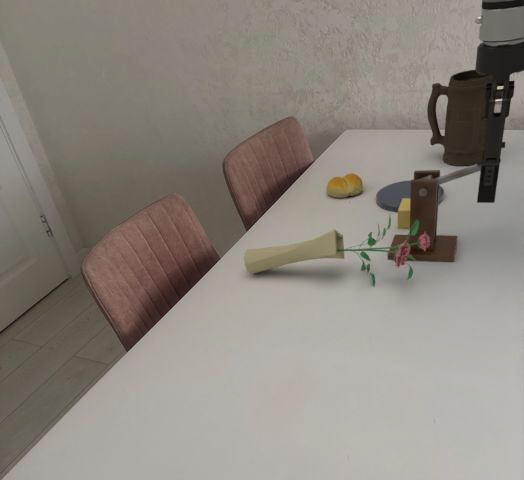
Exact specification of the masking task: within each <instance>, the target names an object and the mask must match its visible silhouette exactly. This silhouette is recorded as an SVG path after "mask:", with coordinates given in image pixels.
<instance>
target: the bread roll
mask: <svg viewBox="0 0 524 480" xmlns="http://www.w3.org/2000/svg"><path fill="white" fill-rule="evenodd" d="M325 190H326V194H327V195H328V196H330V197H333V198H338V199H345V198H348V197H349V196H350V197H354V196H357V195H360V193H362V192H363V191H364V183H363V179H362V178H361V177H360V176H359V175H358V174H355V173H346V175H344V176H333V177H332V178H331V179H330V180H329V181H328V182H327V184H326V189H325Z"/></svg>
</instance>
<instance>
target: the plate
mask: <svg viewBox="0 0 524 480" xmlns="http://www.w3.org/2000/svg"><path fill="white" fill-rule="evenodd" d="M411 180H412V179H410V180H403V181H397V182H393V183H390V184H387V185H386V186H384V187H382V188H380V189H379V190H378V191H377V193H376V195H375V196H376V197H375V198H376V199H375V200H376V205H378V206H379V207H380V208H382V209H383V210H386V211H389V212H395V213H398V209H399V207H400V204H401V201H402V199H403V198H410V193H411ZM444 192H445V190H444V188H443V187H442V186H441V184H440V185H439V200H438V205H439V204H441V202H442V201H443V200H444V196H445V195H444Z"/></svg>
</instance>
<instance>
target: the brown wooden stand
mask: <svg viewBox="0 0 524 480" xmlns="http://www.w3.org/2000/svg"><path fill="white" fill-rule="evenodd" d="M429 175H432V177H433V179H420V178H423V177H426V176H429ZM438 177H441V169H435V170H434V169H429V170H428V169H426V170H423V169H422V170H414V172H413V179H410V180H411V193H410V228H409V230H410V229H411V227H412V226H413V224H414V223H415V221H416V220H417V219H418V221H419V228H418V231H417V233H416V234H415V236H414V235H411V233H409V234H394V235H393V238H392V241H391V244H390V247H395V246H398V245H401V244H402V243H404V242H405V241H407V243H408V244H412V243H417V242H418V239H419V237H420V236H421V235H423V234H424V233H425V232H426V235H427V236H428V237H430V239H429V240H430V242H429V244H430V245H428V247H427V248H426V251H425V252H424V250H423V249H421V248H419V247H418V245H417V244H415V245H409V246H410V252H409V255H411V256H412V257H413V258H414V259H415V260H416V261H417V262H418V261H420V262H421V261H422V262H443V263H444V262H446V263H453V262H454V261H455V255H456V250H457V244H458V238H459V237H458V235H446V234H445V235H444V234H443V235H442V234H441V235H440V234H437V231H438V216H439V204H438V200H439V185H437V184H438V179H435V178H438ZM407 235H408V236H407ZM409 236H410V237H409ZM408 237H409V238H408ZM407 239H408V240H407ZM406 245H407V244H406ZM395 249H397V248H395ZM395 249H394V248H389V249H388V251H396V250H395ZM394 257H395V253H390V252H387V260H391V261H394ZM407 257H408V256H407ZM415 260H413V259H410V258H407V261H415Z"/></svg>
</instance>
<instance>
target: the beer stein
mask: <svg viewBox="0 0 524 480" xmlns="http://www.w3.org/2000/svg"><path fill="white" fill-rule="evenodd" d="M492 78H493V76H491V75H481V74H479V73H477V72H476V70H475V69H469V70H464V71H460V72H457V73H454V74H452V75H451V76H450V78H449V82H448V86H447V85H442V84H441V82H436V83H435V82H434V83H432V84H431V93H430V96H429V98H428V103H427V108H426V109H427V111H426V113H427V121H428V123H429V126H430V129H431V133H432V137H430V138H429V139H430V140H429V141H430V142H429V143H430V145H431V146H435V145H441V146H442V147H443V148H444V151H443V155H442V161H443V162H444V163H445V164H447V165H451V166H457V167H464V166H465V167H466V166H467V167H468V166H472V165H475V164H477V162H478V161H482V157H483V150H484V143H485V135H486V129H487V119H486V118H485V107H486V99H485V92H486V84H487V83H491V80H492ZM441 96H446V98H447V104H446V110H445V124H444V135H442V133H441V131H440V127H439V123H438V116H437V103H438V99H439V98H440V97H441Z"/></svg>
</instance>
